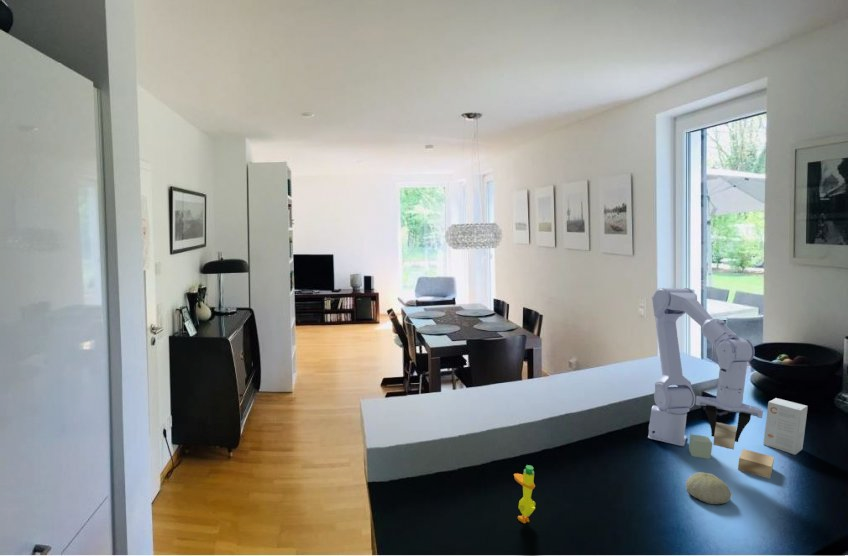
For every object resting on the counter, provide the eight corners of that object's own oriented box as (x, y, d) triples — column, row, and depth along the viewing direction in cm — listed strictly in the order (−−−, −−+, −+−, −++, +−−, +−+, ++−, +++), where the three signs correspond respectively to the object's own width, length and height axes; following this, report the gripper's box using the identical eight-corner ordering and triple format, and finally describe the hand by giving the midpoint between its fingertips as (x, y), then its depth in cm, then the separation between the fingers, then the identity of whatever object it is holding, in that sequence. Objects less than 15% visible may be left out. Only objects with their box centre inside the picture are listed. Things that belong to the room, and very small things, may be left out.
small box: (802, 449, 149) (808, 405, 147) (795, 455, 145) (801, 410, 143) (770, 439, 155) (775, 397, 153) (762, 444, 151) (768, 401, 149)
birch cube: (713, 444, 132) (715, 427, 131) (714, 438, 136) (716, 422, 135) (733, 449, 129) (735, 432, 129) (734, 443, 133) (736, 426, 133)
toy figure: (506, 513, 110) (509, 459, 109) (519, 509, 112) (522, 456, 111) (527, 530, 105) (531, 474, 103) (540, 525, 106) (544, 470, 105)
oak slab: (737, 470, 135) (739, 457, 134) (741, 461, 140) (743, 448, 140) (769, 479, 131) (771, 466, 130) (772, 469, 136) (774, 457, 136)
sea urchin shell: (724, 481, 125) (733, 469, 119) (727, 515, 120) (736, 505, 114) (682, 473, 127) (688, 461, 121) (683, 506, 123) (689, 496, 117)
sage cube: (692, 456, 141) (693, 440, 141) (688, 449, 146) (690, 434, 145) (710, 459, 140) (712, 443, 140) (706, 452, 144) (708, 436, 144)
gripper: (697, 384, 131) (691, 435, 133) (765, 396, 124) (758, 451, 125) (699, 377, 137) (693, 426, 139) (764, 389, 130) (758, 441, 131)
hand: (724, 437), depth 132 cm, fingers closed on birch cube, 4 cm apart
